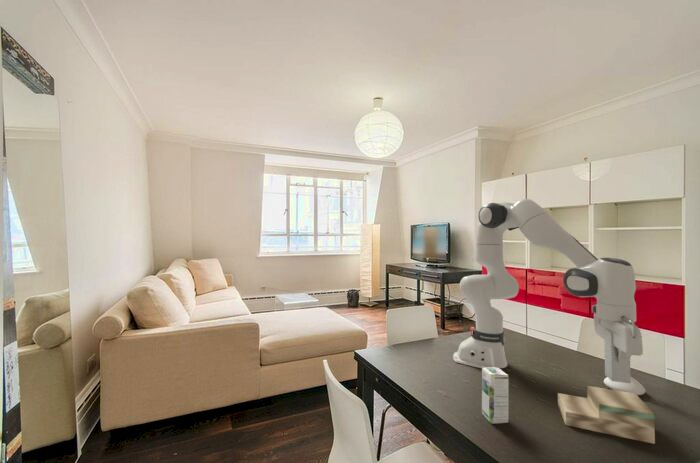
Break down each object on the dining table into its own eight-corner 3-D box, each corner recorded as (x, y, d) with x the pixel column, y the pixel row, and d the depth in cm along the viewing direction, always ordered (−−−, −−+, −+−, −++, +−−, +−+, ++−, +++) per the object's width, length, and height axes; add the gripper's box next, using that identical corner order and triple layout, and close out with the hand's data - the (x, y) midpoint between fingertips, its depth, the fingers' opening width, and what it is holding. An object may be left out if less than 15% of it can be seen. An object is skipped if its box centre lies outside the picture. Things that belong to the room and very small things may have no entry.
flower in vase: (595, 383, 118) (594, 317, 118) (626, 383, 118) (625, 317, 118) (625, 401, 105) (623, 327, 105) (659, 401, 104) (658, 327, 105)
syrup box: (481, 413, 97) (480, 367, 98) (498, 412, 98) (498, 366, 98) (490, 424, 92) (490, 375, 92) (509, 423, 92) (509, 374, 93)
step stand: (566, 425, 91) (565, 398, 91) (557, 405, 102) (557, 380, 102) (655, 444, 83) (654, 414, 83) (636, 420, 94) (635, 393, 94)
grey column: (611, 381, 90) (611, 332, 90) (604, 374, 94) (604, 328, 94) (630, 383, 88) (629, 334, 89) (622, 376, 93) (621, 330, 93)
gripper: (650, 322, 81) (651, 376, 80) (612, 306, 100) (613, 349, 100) (620, 320, 83) (621, 372, 83) (589, 305, 102) (590, 347, 102)
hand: (616, 359), depth 91 cm, fingers closed on grey column, 4 cm apart
